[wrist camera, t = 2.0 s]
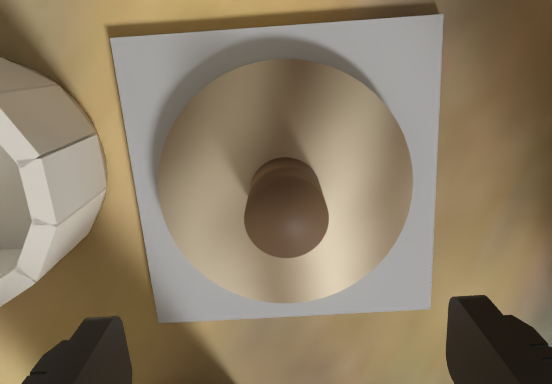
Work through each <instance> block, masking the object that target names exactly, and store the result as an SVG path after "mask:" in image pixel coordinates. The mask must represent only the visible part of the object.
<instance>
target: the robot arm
mask: <svg viewBox="0 0 552 384" xmlns="http://www.w3.org/2000/svg"><path fill="white" fill-rule="evenodd" d="M446 360H447V366H448V370H449V373H450V376H451V378H452V380H453V382H454V384H552V347H549V346H548V343H547V342H546V341H545V340H544V339H543V338H542V337H541V336H540V334H539V333H538V332H537V331H536V330H535V329H534V328H533V327H531V326H529V325H528V324H526V323H524V322H523V321H521V320H519V319H518V318H516V317H514V316H513V315H503V314H502V313H501V312H500V311H499V310H498V308H497V307H496V306H495V305H494V304H493V303H492V302H491V300H490V299H489V298H488V297H487V296H485V295H474V296H458V297H452V298H451V299H450V301H449V307H448V323H447V339H446ZM22 384H132V367H131V362H130V357H129V352H128V347H127V342H126V337H125V333H124V328H123V323H122V320H121V319H120V317H118V316H110V317H94V318H86V319H85V320H84V321H83V322H82V323H81V325H80V326H79V327H78V329H77V330H76V332H75V333H74V334H73V336H72V337H71V339H70V340H63V341H61V342H60V343H59V344H57V345H56V346H55V347H54V348H52V349H51V350H50V351H48V352H47V353H46V354H44V355H43V356H42V357H41V359H40V360H39V361H38V363H37V364H36V365H35V367H34V368H33V369H32V371H31V372H30V376H27V377H26V378H25V380H24V381H23V382H22Z"/></svg>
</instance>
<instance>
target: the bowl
mask: <svg viewBox="0 0 552 384" xmlns="http://www.w3.org/2000/svg"><path fill="white" fill-rule="evenodd" d="M106 188H107V165H106V158H105V154H104V150H103V146H102V143H101V141H100V138H99V136H98V133H97V131H96V129H95V127H94V125H93V124H92V122H91V120H90V118H89V117H88V116H87V114H86V113H85V111H84V110H83V108H82V107H81V106H80V105H79V104H78V103H77V102H76V100H75V99H74V98H73V97H72V96H71V95H70V94H69V93H68V92H66V91H65V90H64V89H63V88H62V87H61V86H59V85H58V84H57V83H55V82H54V81H52V80H51V79H50V78H48V77H46V76H44V75H43V74H41V73H39V72H37V71H35V70H33V69H31V68H28V67H26V66H23V65H20V64H17V63H13V62H10V61H8V60H6V59H4V58H0V307H1V306H2V305H4V304H5V303H7V302H8V301H10V300H11V299H13V298H14V297H16V296H17V295H19V294H20V293H22V292H23V291H25V290H26V289H28V288H29V287H31V286H32V285H34V284H35V283H36V282H37V281H38V280H40V279H41V278H42V277H43V276H44V275H45V274H46V273H47V272H48V271H49V270H50V269H51V268H52V267H53V266H55V265H56V264H57V263H58V262H59V261H60V260H61V259H62V258H63V257H64V256H65V255H66V254H67V253H68V252H70V251H71V250H72V249H73V248H74V247H75V246H76V245H77V244H78V243H79V242H80V241H81V240H82V239H83V238H85V237H86V236H87V235H88V233H89V232H90V230H91V228H92V225H93V223H94V221H95V220H96V218H97V217H98V214H99V212H100V210H101V208H102V205H103V202H104V199H105V195H106V190H107V189H106Z"/></svg>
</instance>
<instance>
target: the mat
mask: <svg viewBox="0 0 552 384" xmlns="http://www.w3.org/2000/svg"><path fill="white" fill-rule="evenodd" d="M443 15H444V14H438V15H424V16H410V17H397V18H383V19H369V20H355V21H341V22H327V23H313V24H299V25H285V26H271V27H257V28H243V29H229V30H215V31H201V32H187V33H174V34H160V35H146V36H132V37H118V38H110V42H111V48H112V54H113V60H114V66H115V72H116V78H117V84H118V89H119V95H120V101H121V107H122V113H123V119H124V125H125V131H126V136H127V142H128V148H129V154H130V160H131V166H132V172H133V178H134V183H135V189H136V195H137V201H138V207H139V213H140V219H141V224H142V230H143V236H144V242H145V248H146V254H147V260H148V266H149V271H150V277H151V283H152V289H153V295H154V301H155V307H156V313H157V318H158V323H177V322H196V321H215V320H234V319H253V318H272V317H291V316H310V315H329V314H348V313H367V312H386V311H405V310H424V309H430V307H431V284H432V262H433V239H434V217H435V195H436V172H437V150H438V127H439V105H440V83H441V60H442V38H443ZM273 59H298V60H306V61H313V62H316V63H320V64H324V65H327V66H331V67H333V68H335V69H338V70H340V71H342V72H344V73H347V74H348V75H350V76H352V77H353V78H355V79H357V80H358V81H360V82H362V83H363V84H364V85H365V86H366V87H368V88H369V89H370V90H371V91H373V92H374V93H375V94H376V95H377V96H378V97H379V98H380V99H381V101H382V102H383V103H384V104H385V105H386V106H387V107H388V109H389V110H390V112H391V113H392V114H393V116H394V117H395V119H396V120H397V122H398V124H399V126H400V128H401V130H402V132H403V134H404V137H405V140H406V143H407V146H408V149H409V152H410V157H411V163H412V170H413V190H412V200H411V204H410V209H409V213H408V216H407V219H406V222H405V224H404V227H403V230H402V231H401V233H400V235H399V237H398V239H397V241H396V243H395V244H394V246H393V247H392V248H391V250H390V251H389V253H388V254H387V255H386V257H385V258H384V259H383V260H382V261H381V262H380V263H379V264H378V265H377V266H376V267H375V268H374V269H373V270H372V271H371V272H370V273H368V274H367V275H366V276H365V277H364V278H362V279H361V280H359V281H358V282H356V283H355V284H353V285H352V286H350V287H348V288H346V289H344V290H342V291H340V292H338V293H335V294H332V295H330V296H327V297H324V298H321V299H316V300H312V301H308V302H299V303H271V302H262V301H258V300H254V299H249V298H246V297H243V296H240V295H238V294H235V293H232V292H230V291H228V290H226V289H224V288H222V287H220V286H219V285H217V284H216V283H214V282H212V281H211V280H209V279H208V278H206V277H205V276H204V275H203V274H202V273H201V272H199V271H198V270H197V269H196V268H195V267H194V266H193V265H192V264H191V263H190V262H189V261H188V260H187V259H186V257H185V256H184V255H183V254H182V252H181V251H180V249H179V248H178V246H177V245H176V244H175V242H174V240H173V238H172V236H171V234H170V232H169V230H168V228H167V225H166V223H165V220H164V217H163V214H162V210H161V205H160V201H159V191H158V171H159V163H160V158H161V153H162V149H163V146H164V144H165V141H166V138H167V135H168V133H169V131H170V129H171V127H172V125H173V123H174V121H175V120H176V118H177V117H178V115H179V114H180V112H181V111H182V110H183V108H184V107H185V106H186V105H187V103H188V102H189V101H190V100H191V99H192V98H193V97H194V96H195V95H196V94H197V93H198V92H199V91H201V90H202V89H203V88H204V87H205V86H207V85H208V84H209V83H211V82H212V81H214V80H215V79H217V78H219V77H220V76H222V75H223V74H225V73H228V72H230V71H232V70H234V69H237V68H239V67H241V66H245V65H248V64H252V63H255V62H259V61H266V60H273Z"/></svg>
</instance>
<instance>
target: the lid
mask: <svg viewBox="0 0 552 384" xmlns="http://www.w3.org/2000/svg"><path fill="white" fill-rule="evenodd" d="M412 190H413V170H412V163H411V157H410V152H409V149H408V146H407V143H406V140H405V137H404V134H403V132H402V130H401V128H400V126H399V124H398V122H397V120H396V119H395V117H394V116H393V114H392V113H391V112H390V110H389V109H388V107H387V106H386V105H385V104H384V103H383V102H382V101H381V99H380V98H379V97H378V96H377V95H376V94H375V93H374V92H373V91H371V90H370V89H369V88H368V87H366V86H365V85H364V84H363V83H362V82H360V81H358V80H357V79H355V78H353V77H352V76H350V75H348V74H347V73H344V72H342V71H340V70H338V69H335V68H333V67H331V66H327V65H324V64H320V63H316V62H313V61H306V60H298V59H273V60H266V61H259V62H255V63H252V64H248V65H245V66H241V67H239V68H237V69H234V70H232V71H230V72H228V73H225V74H223V75H222V76H220V77H219V78H217V79H215V80H214V81H212V82H211V83H209V84H208V85H207V86H205V87H204V88H203V89H202V90H201V91H199V92H198V93H197V94H196V95H195V96H194V97H193V98H192V99H191V100H190V101H189V102H188V103H187V105H186V106H185V107H184V108H183V110H182V111H181V112H180V114H179V115H178V117H177V118H176V120H175V121H174V123H173V125H172V127H171V129H170V131H169V133H168V135H167V138H166V141H165V144H164V146H163V149H162V153H161V158H160V163H159V171H158V191H159V201H160V205H161V210H162V214H163V217H164V220H165V223H166V225H167V228H168V230H169V232H170V234H171V236H172V238H173V240H174V242H175V244H176V245H177V246H178V248H179V249H180V251H181V252H182V254H183V255H184V256H185V257H186V259H187V260H188V261H189V262H190V263H191V264H192V265H193V266H194V267H195V268H196V269H197V270H198V271H199V272H201V273H202V274H203V275H204V276H205V277H206V278H208V279H209V280H211V281H212V282H214V283H216V284H217V285H219V286H220V287H222V288H224V289H226V290H228V291H230V292H232V293H235V294H238V295H240V296H243V297H246V298H249V299H254V300H258V301H262V302H271V303H299V302H308V301H312V300H316V299H321V298H324V297H327V296H330V295H332V294H335V293H338V292H340V291H342V290H344V289H346V288H348V287H350V286H352V285H353V284H355V283H356V282H358V281H359V280H361V279H362V278H364V277H365V276H366V275H367V274H368V273H370V272H371V271H372V270H373V269H374V268H375V267H376V266H377V265H378V264H379V263H380V262H381V261H382V260H383V259H384V258H385V257H386V255H387V254H388V253H389V251H390V250H391V248H392V247H393V246H394V244H395V243H396V241H397V239H398V237H399V235H400V233H401V231H402V230H403V227H404V224H405V222H406V219H407V216H408V213H409V209H410V204H411V200H412Z"/></svg>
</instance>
